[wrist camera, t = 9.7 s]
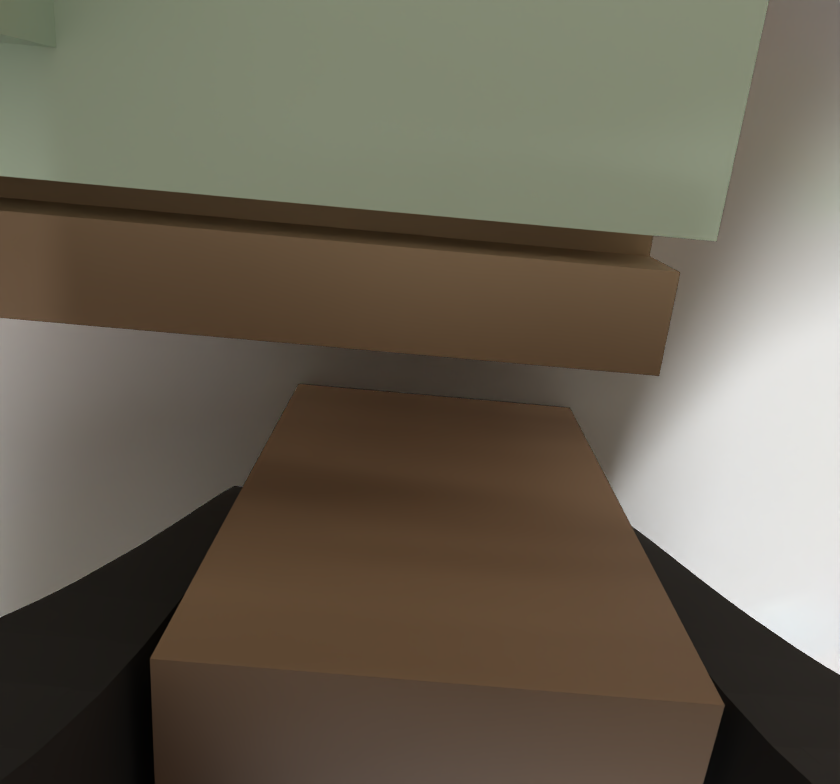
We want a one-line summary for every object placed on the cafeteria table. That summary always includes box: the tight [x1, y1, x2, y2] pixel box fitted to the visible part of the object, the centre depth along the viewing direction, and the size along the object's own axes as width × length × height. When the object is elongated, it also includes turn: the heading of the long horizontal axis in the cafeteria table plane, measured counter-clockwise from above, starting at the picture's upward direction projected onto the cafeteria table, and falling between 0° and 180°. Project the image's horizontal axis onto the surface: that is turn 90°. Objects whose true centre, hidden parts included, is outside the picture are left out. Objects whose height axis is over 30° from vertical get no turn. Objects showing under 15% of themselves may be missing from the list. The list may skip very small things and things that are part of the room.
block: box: [150, 384, 725, 784], centre depth 9 cm, size 4×4×6 cm
